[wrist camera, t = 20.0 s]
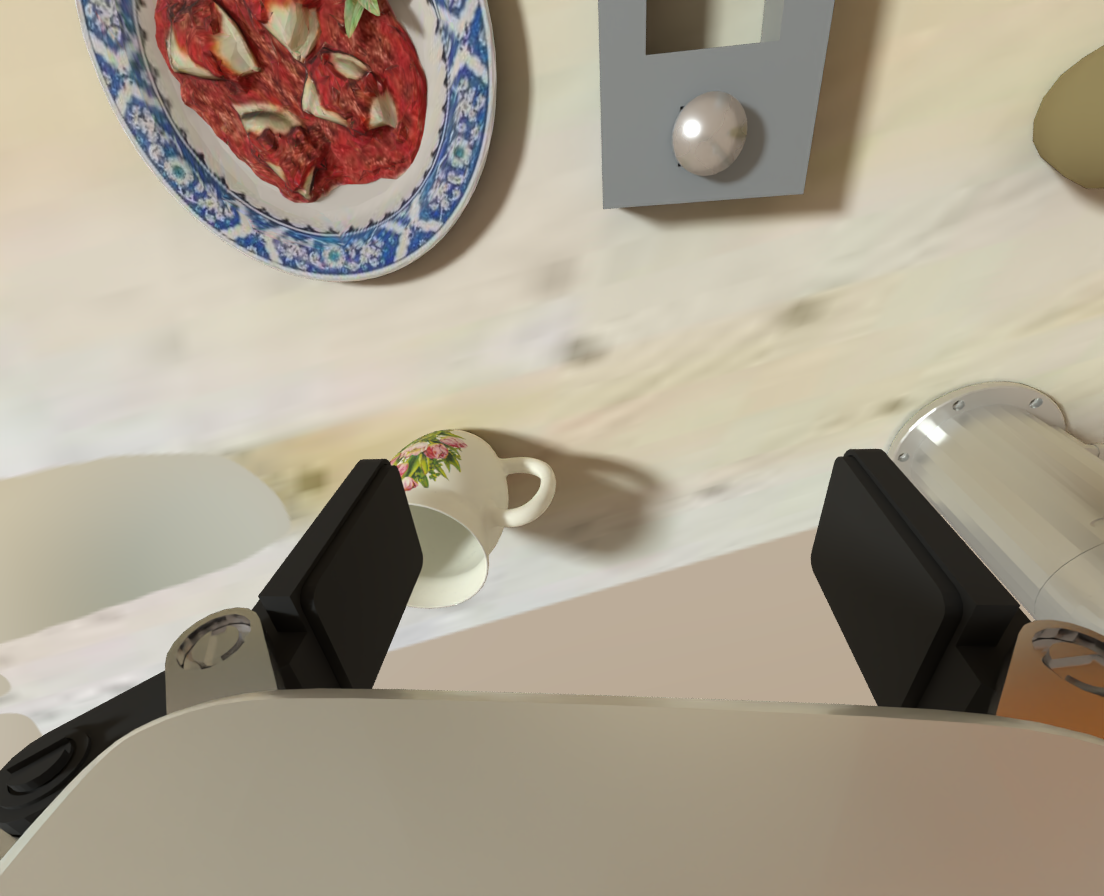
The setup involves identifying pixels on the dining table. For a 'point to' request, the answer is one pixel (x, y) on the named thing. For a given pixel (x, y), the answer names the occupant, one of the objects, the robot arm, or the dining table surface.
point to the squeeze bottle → (1075, 122)
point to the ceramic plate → (306, 119)
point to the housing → (678, 77)
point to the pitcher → (462, 510)
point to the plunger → (709, 133)
